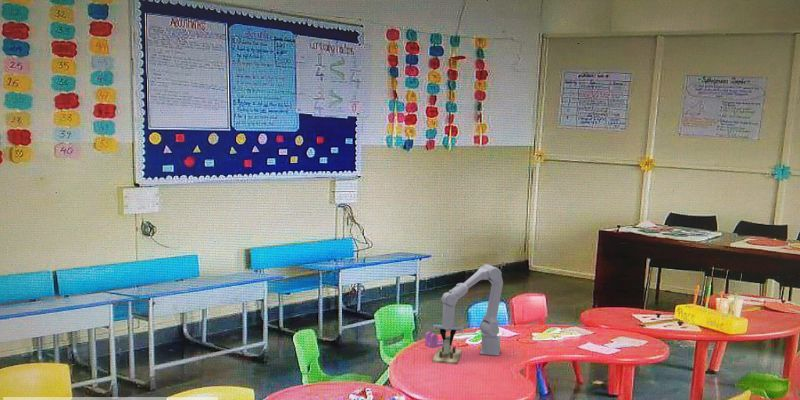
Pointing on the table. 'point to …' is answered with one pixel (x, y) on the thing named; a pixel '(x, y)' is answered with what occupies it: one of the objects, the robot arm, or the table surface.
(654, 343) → the table surface
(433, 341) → the bracket
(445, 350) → the door
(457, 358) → the beige board with pegs
